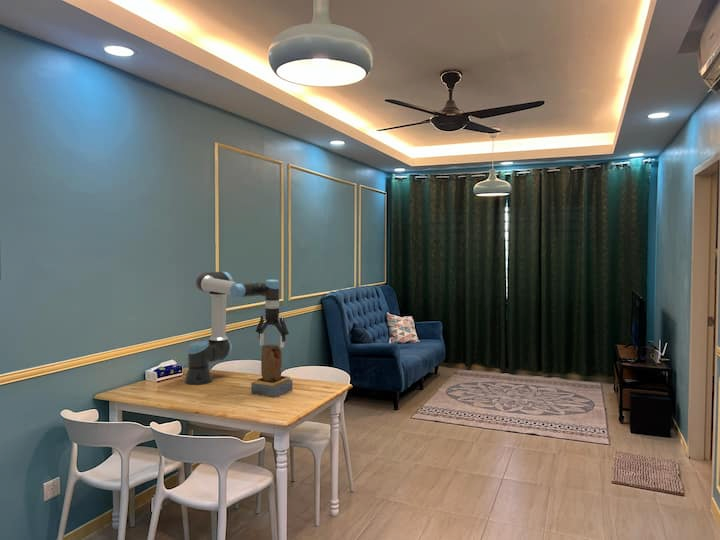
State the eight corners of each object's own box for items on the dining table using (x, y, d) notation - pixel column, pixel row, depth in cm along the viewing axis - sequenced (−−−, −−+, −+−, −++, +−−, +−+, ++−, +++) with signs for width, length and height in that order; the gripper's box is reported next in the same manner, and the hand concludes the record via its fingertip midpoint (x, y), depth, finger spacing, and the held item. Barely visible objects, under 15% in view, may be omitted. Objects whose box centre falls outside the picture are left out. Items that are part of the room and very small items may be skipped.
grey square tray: (251, 393, 290) (251, 380, 290) (268, 387, 304) (268, 374, 304) (275, 397, 283) (275, 383, 282) (292, 390, 297) (292, 377, 297)
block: (259, 381, 294) (259, 345, 293) (270, 378, 300) (270, 343, 299) (273, 384, 287) (273, 347, 286) (283, 381, 293) (283, 345, 292)
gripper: (249, 307, 294) (249, 345, 295) (287, 310, 283) (287, 349, 284) (257, 305, 301) (257, 343, 302) (295, 308, 290) (294, 347, 291)
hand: (271, 346), depth 293 cm, fingers open, 13 cm apart
